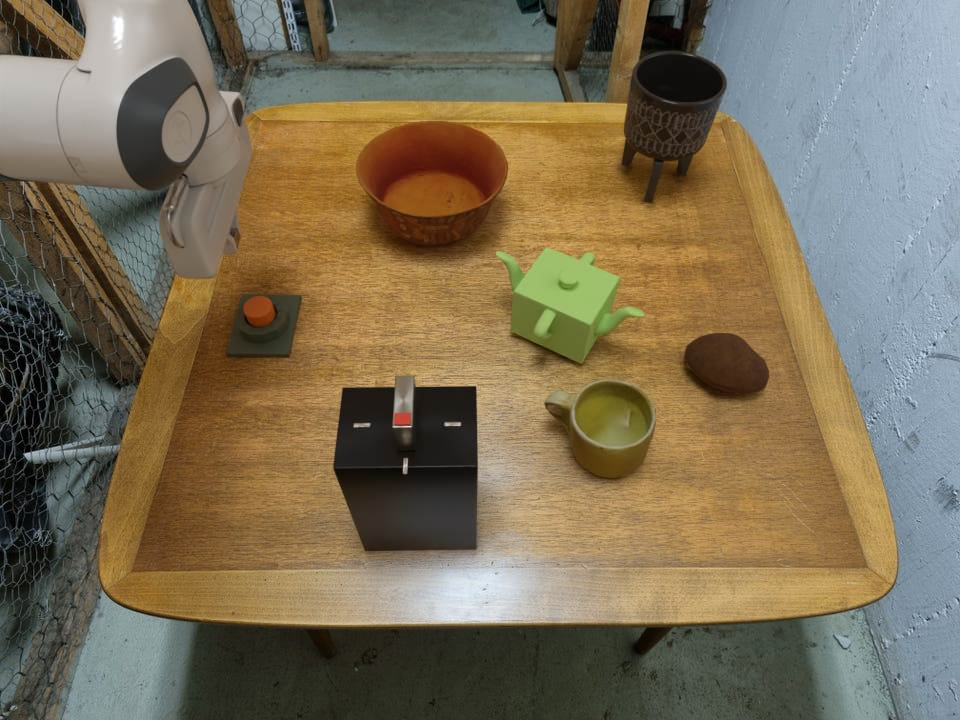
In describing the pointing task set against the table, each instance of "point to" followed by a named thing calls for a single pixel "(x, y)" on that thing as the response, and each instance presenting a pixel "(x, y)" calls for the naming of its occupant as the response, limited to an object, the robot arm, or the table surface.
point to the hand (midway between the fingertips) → (232, 244)
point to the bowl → (432, 179)
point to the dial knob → (405, 413)
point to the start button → (259, 311)
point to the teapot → (564, 302)
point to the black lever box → (410, 469)
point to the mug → (606, 425)
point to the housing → (265, 329)
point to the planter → (670, 110)
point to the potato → (727, 363)
